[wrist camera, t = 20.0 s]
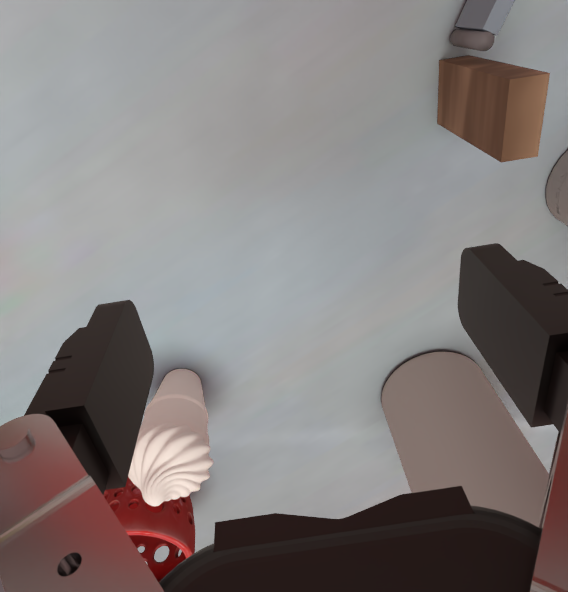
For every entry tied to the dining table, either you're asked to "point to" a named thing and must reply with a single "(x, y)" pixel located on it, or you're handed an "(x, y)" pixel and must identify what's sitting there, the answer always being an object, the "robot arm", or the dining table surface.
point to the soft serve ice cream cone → (172, 441)
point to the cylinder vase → (461, 436)
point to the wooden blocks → (493, 105)
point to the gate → (480, 23)
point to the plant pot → (155, 525)
